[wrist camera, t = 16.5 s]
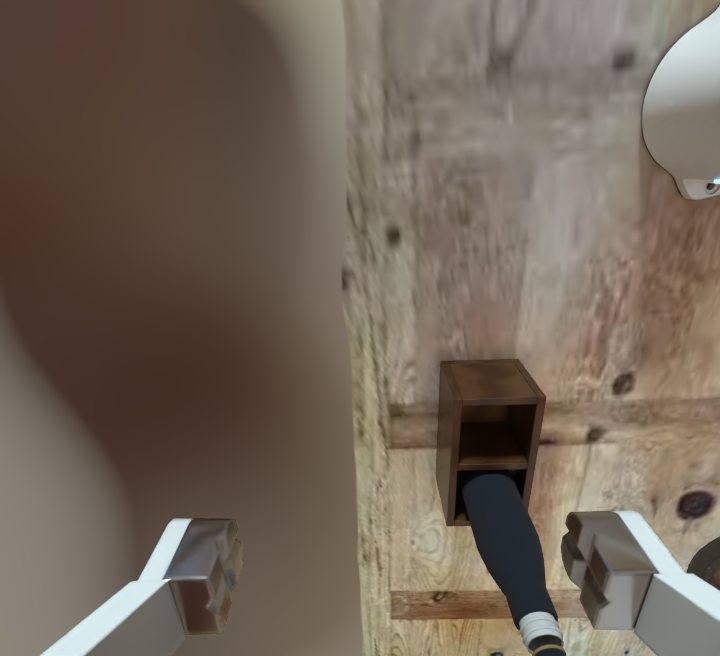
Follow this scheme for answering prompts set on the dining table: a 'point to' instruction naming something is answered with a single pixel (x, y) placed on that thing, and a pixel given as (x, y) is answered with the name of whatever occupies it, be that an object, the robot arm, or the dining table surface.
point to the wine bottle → (512, 555)
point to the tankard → (708, 564)
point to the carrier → (486, 427)
